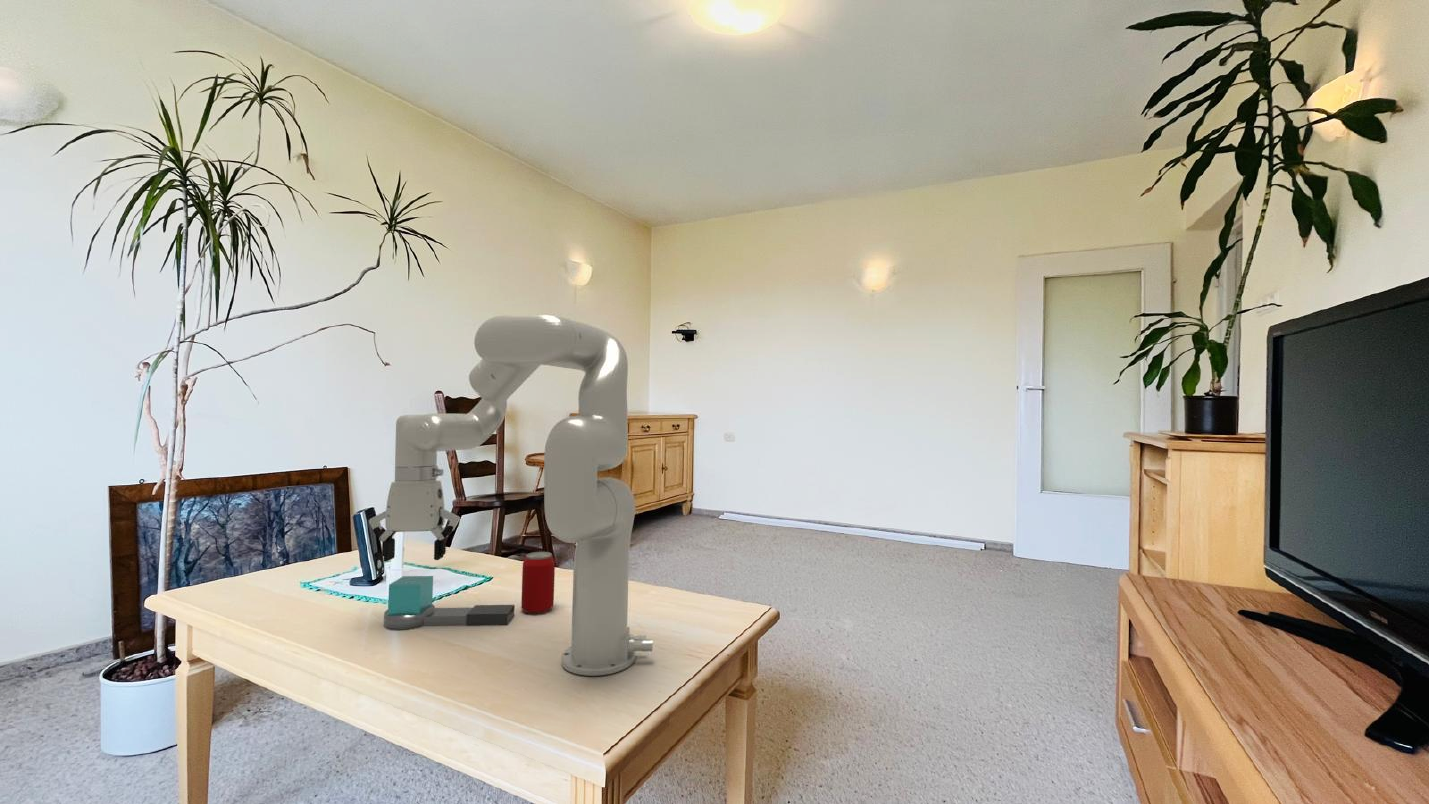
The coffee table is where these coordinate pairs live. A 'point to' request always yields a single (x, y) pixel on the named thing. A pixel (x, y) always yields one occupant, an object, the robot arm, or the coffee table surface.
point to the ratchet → (452, 617)
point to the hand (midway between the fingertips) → (414, 559)
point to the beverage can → (538, 582)
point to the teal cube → (410, 595)
